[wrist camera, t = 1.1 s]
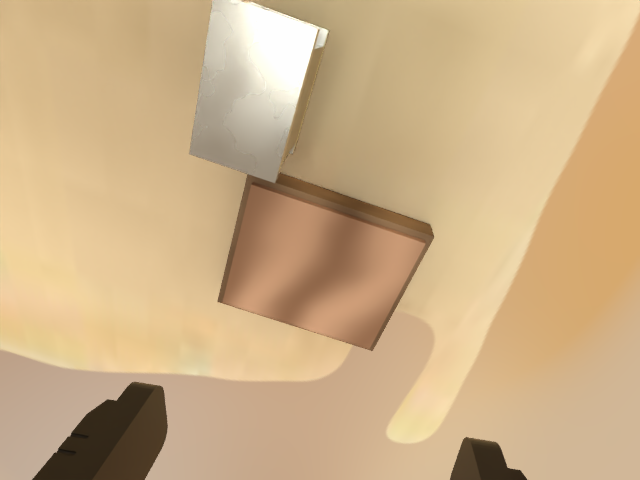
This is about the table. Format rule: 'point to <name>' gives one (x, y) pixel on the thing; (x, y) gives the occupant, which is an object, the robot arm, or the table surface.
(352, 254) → the stand
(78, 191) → the table surface
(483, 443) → the robot arm
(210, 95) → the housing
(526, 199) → the table surface
